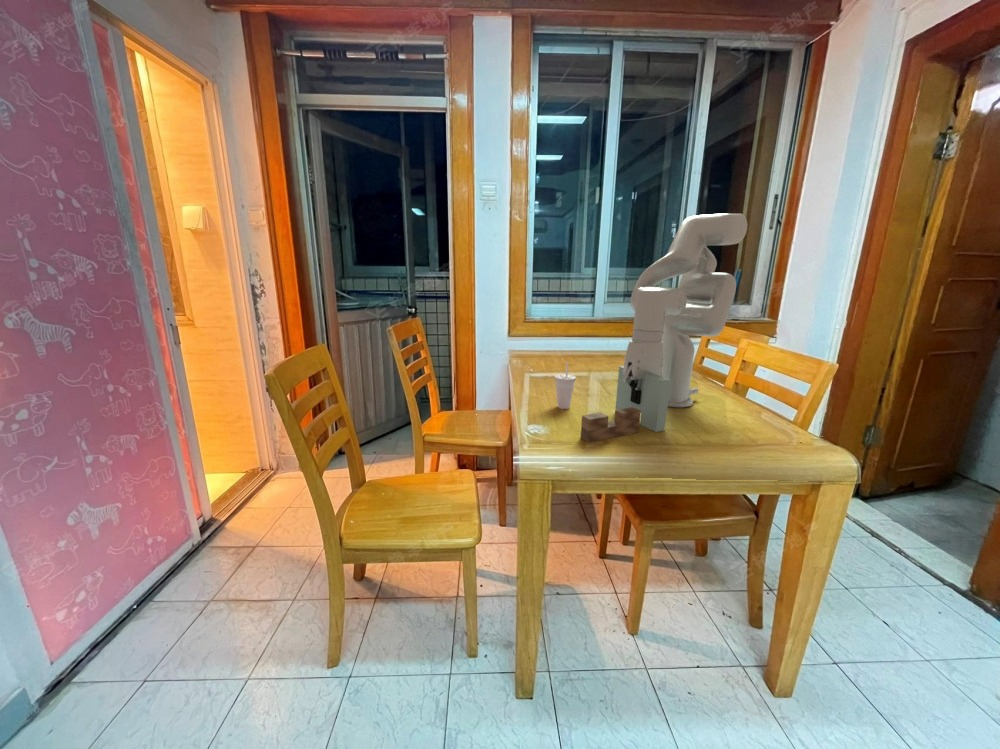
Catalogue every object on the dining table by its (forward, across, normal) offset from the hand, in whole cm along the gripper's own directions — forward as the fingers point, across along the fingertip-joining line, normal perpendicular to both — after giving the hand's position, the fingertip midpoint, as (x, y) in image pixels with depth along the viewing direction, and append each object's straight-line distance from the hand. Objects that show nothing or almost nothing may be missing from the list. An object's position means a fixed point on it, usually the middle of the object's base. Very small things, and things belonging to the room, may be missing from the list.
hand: (640, 401), depth 111 cm
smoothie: (+6, +13, -18) cm, 23 cm away
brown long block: (+6, +14, +5) cm, 16 cm away
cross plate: (+6, 0, 0) cm, 6 cm away
